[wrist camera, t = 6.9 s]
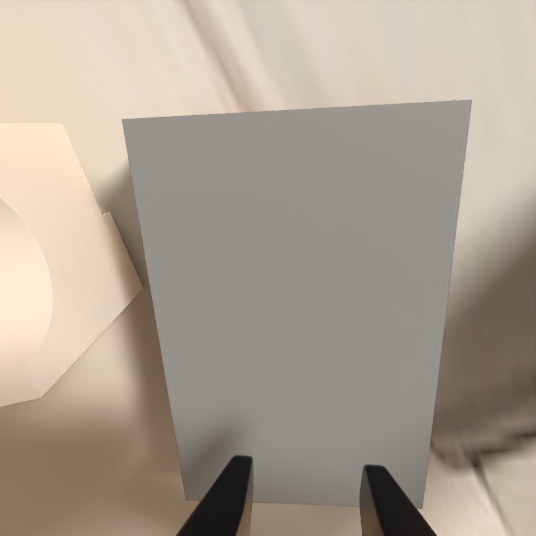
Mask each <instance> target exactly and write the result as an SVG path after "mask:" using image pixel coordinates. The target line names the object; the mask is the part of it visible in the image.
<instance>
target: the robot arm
mask: <svg viewBox="0 0 536 536" xmlns="http://www.w3.org/2000/svg"><path fill="white" fill-rule="evenodd" d="M252 500H253V457H251V456H246V455H235V456H233V457H232V458H231V459H230V461H229V462H228V464H227V465H226V466H225V468H224V469H223V471H222V472H221V473H220V475H219V476H218V478H217V479H216V480H215V482H214V483H213V485H212V486H211V487H210V489H209V490H208V492H207V493H206V494H205V496H204V497H203V498H202V500H201V501H200V503H199V504H198V505H197V507H196V508H195V510H194V511H193V512H192V514H191V515H190V517H189V518H188V519H187V521H186V522H185V524H184V525H183V526H182V528H181V529H180V531H179V532H178V533H177V535H176V536H249V531H250V521H251V510H252ZM359 504H360V515H361V526H362V536H437V535H436V534H435V533H434V531H433V530H432V529H431V527H430V526H429V525H428V523H427V522H426V521H425V519H424V518H423V517H422V515H421V514H420V513H419V511H418V510H417V509H416V507H415V506H414V505H413V503H412V502H411V501H410V499H409V498H408V497H407V495H406V494H405V493H404V491H403V490H402V489H401V487H400V486H399V485H398V483H397V482H396V481H395V479H394V478H393V477H392V475H391V474H390V473H389V471H388V470H387V469H386V468H385V467H384V466H382V465H372V464H366V465H364V467H363V470H362V478H361V486H360V494H359Z"/></svg>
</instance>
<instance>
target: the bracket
mask: <svg viewBox="0 0 536 536" xmlns="http://www.w3.org/2000/svg"><path fill="white" fill-rule="evenodd" d="M142 289H143V286H142V284H141V281H140V279H139V277H138V274H137V272H136V270H135V267H134V265H133V263H132V261H131V258H130V256H129V254H128V251H127V249H126V247H125V245H124V242H123V240H122V238H121V235H120V233H119V231H118V229H117V226H116V224H115V222H114V219H113V217H112V215H111V213H110V212H107V213H103V214H102V213H101V211H100V209H99V207H98V204H97V202H96V200H95V198H94V195H93V193H92V191H91V189H90V186H89V184H88V182H87V179H86V177H85V175H84V173H83V170H82V168H81V166H80V164H79V161H78V159H77V157H76V155H75V152H74V150H73V148H72V146H71V143H70V141H69V139H68V137H67V134H66V132H65V130H64V128H63V125H62V123H0V407H2V406H6V405H11V404H15V403H20V402H24V401H29V400H33V399H38V398H41V397H42V396H43V395H44V394H45V393H46V392H47V391H48V390H49V389H50V388H51V387H52V386H53V384H54V383H55V382H56V381H57V380H58V379H59V378H60V377H61V376H62V375H63V374H64V373H65V372H66V371H67V370H68V368H69V367H70V366H71V365H72V364H73V363H74V362H75V361H76V360H77V359H78V358H79V357H80V356H81V355H82V354H83V352H84V351H85V350H86V349H87V348H88V347H89V346H90V345H91V344H92V343H93V342H94V341H95V340H96V339H97V337H98V336H99V335H100V334H101V333H102V332H103V331H104V330H105V329H106V328H107V327H108V326H109V325H110V324H111V323H112V321H113V320H114V319H115V318H116V317H117V316H118V315H119V314H120V313H121V312H122V311H123V310H124V309H125V308H126V307H127V305H128V304H129V303H130V302H131V301H132V300H133V299H134V298H135V297H136V296H137V295H138V294H139V293H140V292H141V291H142Z"/></svg>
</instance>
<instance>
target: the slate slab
mask: <svg viewBox="0 0 536 536" xmlns="http://www.w3.org/2000/svg"><path fill="white" fill-rule="evenodd" d="M471 104H472V100H460V101H442V102H424V103H406V104H388V105H370V106H352V107H334V108H316V109H298V110H280V111H262V112H244V113H226V114H208V115H190V116H173V117H155V118H137V119H122V123H123V129H124V135H125V141H126V147H127V153H128V159H129V165H130V171H131V177H132V183H133V188H134V194H135V200H136V206H137V212H138V218H139V224H140V230H141V236H142V242H143V248H144V254H145V260H146V266H147V272H148V278H149V283H150V289H151V295H152V301H153V307H154V313H155V319H156V325H157V331H158V337H159V343H160V349H161V355H162V361H163V367H164V373H165V378H166V384H167V390H168V396H169V402H170V408H171V414H172V420H173V426H174V432H175V438H176V444H177V450H178V456H179V462H180V468H181V474H182V479H183V485H184V491H185V497H186V500H202V498H203V497H204V496H205V494H206V493H207V492H208V490H209V489H210V487H211V486H212V485H213V483H214V482H215V480H216V479H217V478H218V476H219V475H220V473H221V472H222V471H223V469H224V468H225V466H226V465H227V464H228V462H229V461H230V459H231V458H232V457H233V456H235V455H246V456H251V457H253V500H252V502H255V503H282V504H309V505H336V506H360V504H359V494H360V486H361V478H362V470H363V467H364V465H366V464H372V465H382V466H384V467H385V468H386V469H387V470H388V471H389V473H390V474H391V475H392V477H393V478H394V479H395V481H396V482H397V483H398V485H399V486H400V487H401V489H402V490H403V491H404V493H405V494H406V495H407V497H408V498H409V499H410V501H411V502H412V503H413V505H414V506H415V507H416V508H417V509H422V507H423V499H424V491H425V483H426V474H427V466H428V458H429V450H430V441H431V433H432V425H433V417H434V408H435V400H436V392H437V384H438V376H439V367H440V359H441V351H442V343H443V334H444V326H445V318H446V310H447V301H448V293H449V285H450V277H451V269H452V260H453V252H454V244H455V236H456V227H457V219H458V211H459V203H460V194H461V186H462V178H463V170H464V162H465V153H466V145H467V137H468V129H469V120H470V112H471Z"/></svg>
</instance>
